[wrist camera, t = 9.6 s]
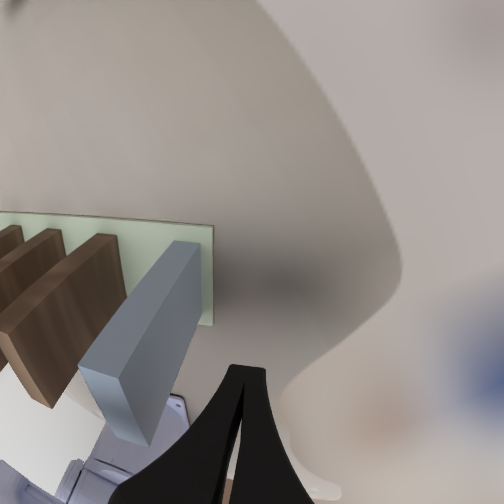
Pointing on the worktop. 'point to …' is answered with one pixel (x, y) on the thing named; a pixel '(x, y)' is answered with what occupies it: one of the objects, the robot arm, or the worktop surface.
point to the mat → (127, 243)
